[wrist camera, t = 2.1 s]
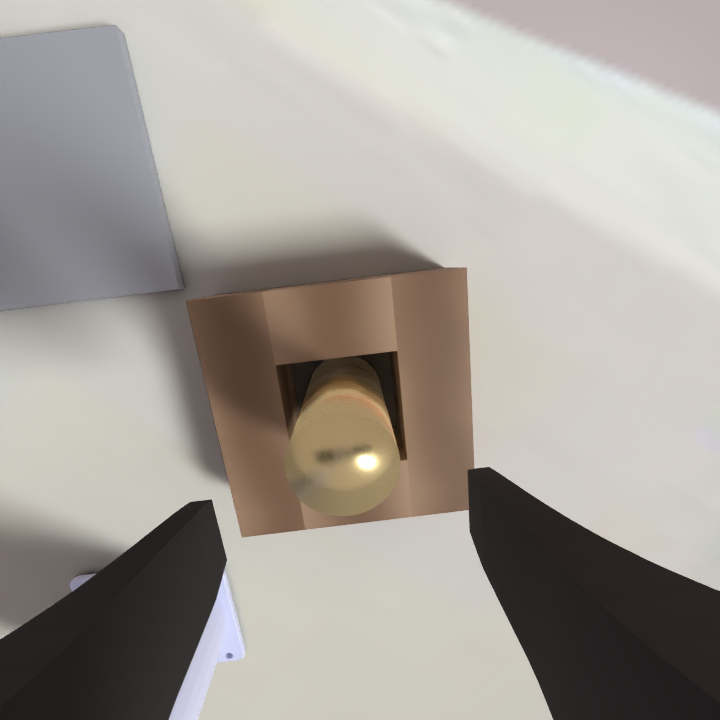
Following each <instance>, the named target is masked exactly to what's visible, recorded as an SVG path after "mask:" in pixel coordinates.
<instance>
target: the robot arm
mask: <svg viewBox="0 0 720 720" xmlns="http://www.w3.org/2000/svg"><path fill="white" fill-rule="evenodd" d="M467 471H468V497H469V523H470V533H471V536H472V539H473V542H474V545H475V547H476V550H477V553H478V556H479V558H480V561H481V564H482V566H483V569H484V571H485V573H486V575H487V577H488V579H489V581H490V583H491V585H492V587H493V589H494V591H495V593H496V596H497V598H498V600H499V602H500V604H501V606H502V608H503V610H504V612H505V614H506V616H507V618H508V620H509V622H510V624H511V626H512V628H513V630H514V632H515V634H516V636H517V638H518V640H519V642H520V644H521V646H522V648H523V650H524V652H525V654H526V656H527V658H528V660H529V662H530V665H531V667H532V669H533V671H534V673H535V676H536V678H537V680H538V682H539V685H540V687H541V690H542V692H543V695H544V697H545V700H546V702H547V705H548V707H549V710H550V712H551V715H552V717H553V720H720V591H718V590H715V589H713V588H710V587H708V586H705V585H703V584H701V583H698V582H696V581H694V580H691V579H689V578H687V577H684V576H682V575H680V574H677V573H675V572H673V571H670V570H668V569H666V568H664V567H661V566H659V565H657V564H655V563H653V562H650V561H648V560H646V559H644V558H642V557H640V556H638V555H636V554H634V553H632V552H630V551H628V550H626V549H624V548H622V547H620V546H618V545H616V544H614V543H612V542H610V541H608V540H606V539H604V538H602V537H600V536H599V535H597V534H595V533H593V532H591V531H590V530H588V529H586V528H584V527H583V526H581V525H579V524H577V523H576V522H574V521H572V520H570V519H569V518H567V517H565V516H564V515H562V514H560V513H559V512H557V511H556V510H554V509H552V508H551V507H549V506H548V505H546V504H544V503H543V502H541V501H540V500H538V499H537V498H535V497H534V496H532V495H531V494H529V493H528V492H526V491H525V490H523V489H522V488H520V487H519V486H517V485H516V484H514V483H513V482H511V481H510V480H508V479H507V478H505V477H504V476H502V475H501V474H499V473H498V472H496V471H495V470H493V469H491V468H490V467H486V468H477V469H469V470H467ZM226 561H227V558H226V554H225V550H224V546H223V542H222V538H221V534H220V530H219V527H218V523H217V519H216V515H215V511H214V507H213V503H212V500H204V501H196V502H190V503H188V504H187V505H185V506H184V507H182V508H181V509H180V510H178V511H177V512H176V513H174V514H173V515H172V516H170V517H169V518H168V519H166V520H165V521H164V522H163V523H161V524H160V525H159V526H158V527H156V528H155V529H154V530H153V531H151V532H150V533H149V534H148V535H146V536H145V537H144V538H142V539H141V540H140V541H139V542H137V543H136V544H135V545H134V546H132V547H131V548H130V549H129V550H127V551H126V552H125V553H123V554H122V555H121V556H120V557H118V558H117V559H116V560H114V561H113V562H112V563H110V564H109V565H108V566H106V567H105V568H104V569H102V570H101V571H100V572H98V573H97V574H89V575H80V576H76V577H75V578H74V579H73V580H72V581H71V582H70V589H71V591H72V592H71V593H70V594H68V595H67V596H65V597H64V598H63V599H61V600H60V601H58V602H57V603H55V604H54V605H52V606H51V607H50V608H48V609H47V610H45V611H44V612H42V613H41V614H39V615H37V616H36V617H34V618H33V619H31V620H30V621H28V622H27V623H25V624H24V625H22V626H21V627H19V628H18V629H16V630H15V631H13V632H11V633H10V634H8V635H7V636H5V637H4V638H2V639H0V720H198V718H199V715H200V712H201V709H202V706H203V703H204V700H205V697H206V694H207V691H208V688H209V685H210V682H211V679H212V676H213V673H214V670H215V667H216V664H217V663H218V662H226V661H234V660H240V659H242V658H243V657H244V655H245V645H244V641H243V637H242V633H241V630H240V626H239V622H238V618H237V614H236V610H235V606H234V603H233V599H232V595H231V591H230V587H229V583H228V580H227V576H226V572H225V565H226Z"/></svg>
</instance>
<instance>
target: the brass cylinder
mask: <svg viewBox="0 0 720 720" xmlns="http://www.w3.org/2000/svg"><path fill="white" fill-rule="evenodd" d="M400 467H401V466H400V455H399V450H398V447H397V443H396V440H395V436H394V432H393V429H392V425H391V422H390V418H389V414H388V411H387V407H386V404H385V400H384V396H383V393H382V389H381V385H380V382H379V379H378V376H377V374H376V372H375V371H374V369H373V368H372V367H371V366H370V365H369V364H368V363H367V362H365V361H364V360H362V359H360V358H358V357H355V356H349V357H341V358H333V359H327V360H326V361H324V362H322V363H321V364H320V365H319V366H318V367H317V368H316V370H315V371H314V373H313V375H312V377H311V380H310V383H309V386H308V389H307V392H306V395H305V398H304V401H303V404H302V407H301V410H300V413H299V416H298V419H297V422H296V425H295V428H294V431H293V434H292V437H291V440H290V443H289V446H288V449H287V452H286V456H285V474H286V478H287V481H288V483H289V486H290V488H291V489H292V491H293V492H294V494H295V495H296V496H297V497H298V498H299V499H300V500H301V501H302V502H303V503H304V504H306V505H307V506H308V507H310V508H312V509H314V510H316V511H318V512H320V513H324V514H327V515H333V516H352V515H357V514H361V513H364V512H366V511H369V510H371V509H373V508H374V507H376V506H378V505H379V504H380V503H382V502H383V501H384V500H385V499H386V498H387V497H388V496H389V494H390V493H391V492H392V490H393V489H394V487H395V485H396V483H397V481H398V477H399V474H400Z"/></svg>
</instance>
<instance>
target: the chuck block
mask: <svg viewBox="0 0 720 720" xmlns="http://www.w3.org/2000/svg"><path fill="white" fill-rule="evenodd" d="M186 304H187V308H188V313H189V317H190V321H191V325H192V329H193V334H194V338H195V342H196V346H197V350H198V355H199V359H200V363H201V367H202V371H203V376H204V380H205V384H206V388H207V392H208V397H209V401H210V405H211V409H212V414H213V418H214V422H215V426H216V430H217V435H218V439H219V443H220V447H221V451H222V456H223V460H224V464H225V468H226V472H227V477H228V481H229V485H230V489H231V493H232V498H233V502H234V506H235V510H236V514H237V519H238V523H239V527H240V531H241V535H242V537H249V536H257V535H265V534H273V533H282V532H290V531H298V530H306V529H315V528H323V527H331V526H339V525H348V524H356V523H364V522H372V521H381V520H389V519H397V518H405V517H414V516H422V515H430V514H438V513H447V512H455V511H463V510H469V497H468V471H467V470H469V469H474V451H473V424H472V397H471V370H470V344H469V317H468V290H467V268H438V269H429V270H421V271H412V272H404V273H396V274H387V275H379V276H371V277H362V278H354V279H345V280H337V281H329V282H320V283H312V284H303V285H295V286H287V287H278V288H270V289H261V290H253V291H245V292H236V293H228V294H219V295H213V296H208V297H203V298H198V299H194V300H189V301H186ZM383 352H390V355H391V365H392V375H393V386H394V396H395V407H396V417H397V427H398V429H393V432H394V436H395V440H396V443H397V447H398V450H399V455H400V466H401V467H400V474H399V477H398V481H397V483H396V485H395V487H394V489H393V490H392V492H391V493H390V494H389V496H388V497H387V498H386V499H385V500H384V501H383V502H382V503H380V504H379V505H378V506H376V507H374V508H373V509H371V510H369V511H366V512H364V513H361V514H357V515H352V516H333V515H327V514H324V513H320V512H318V511H316V510H314V509H312V508H310V507H308V506H307V505H306V504H304V503H303V502H302V501H301V500H300V499H299V498H298V497H297V496H296V495H295V494H294V492H293V491H292V489H291V488H290V486H289V483H288V481H287V478H286V474H285V456H286V452H287V449H288V446H289V443H290V440H291V437H292V434H293V431H294V428H295V425H296V422H297V419H298V416H299V409H298V403H297V397H296V392H295V386H294V380H293V374H292V368H291V363H299V362H308V361H316V360H324V359H333V358H341V357H349V356H358V355H366V354H374V353H383Z"/></svg>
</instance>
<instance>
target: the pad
mask: <svg viewBox="0 0 720 720" xmlns="http://www.w3.org/2000/svg"><path fill="white" fill-rule="evenodd" d="M178 289H184V285H183V280H182V276H181V272H180V268H179V264H178V259H177V255H176V251H175V247H174V242H173V238H172V234H171V230H170V226H169V221H168V217H167V213H166V209H165V204H164V200H163V196H162V192H161V188H160V183H159V179H158V175H157V171H156V166H155V162H154V158H153V154H152V150H151V145H150V141H149V137H148V133H147V128H146V124H145V120H144V116H143V112H142V107H141V103H140V99H139V95H138V90H137V86H136V82H135V78H134V74H133V69H132V65H131V61H130V57H129V52H128V48H127V44H126V40H125V36H124V33H123V32H122V31H121V30H120V29H119V28H118V27H117V26H116V25H110V26H102V27H93V28H85V29H76V30H68V31H59V32H50V33H42V34H33V35H25V36H16V37H8V38H0V311H1V310H10V309H18V308H27V307H35V306H43V305H52V304H60V303H69V302H77V301H85V300H94V299H102V298H111V297H119V296H127V295H136V294H144V293H153V292H161V291H169V290H178Z"/></svg>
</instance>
